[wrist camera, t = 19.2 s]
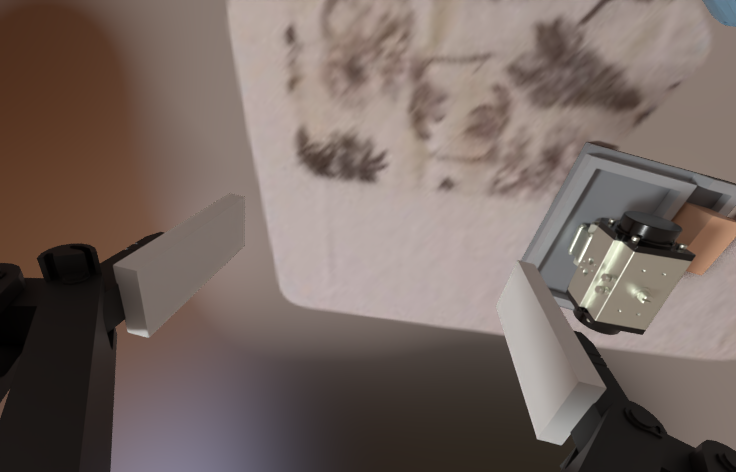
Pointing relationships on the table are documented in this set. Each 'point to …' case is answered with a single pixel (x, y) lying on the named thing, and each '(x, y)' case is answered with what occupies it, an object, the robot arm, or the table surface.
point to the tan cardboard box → (704, 234)
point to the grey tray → (615, 204)
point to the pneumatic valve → (625, 271)
